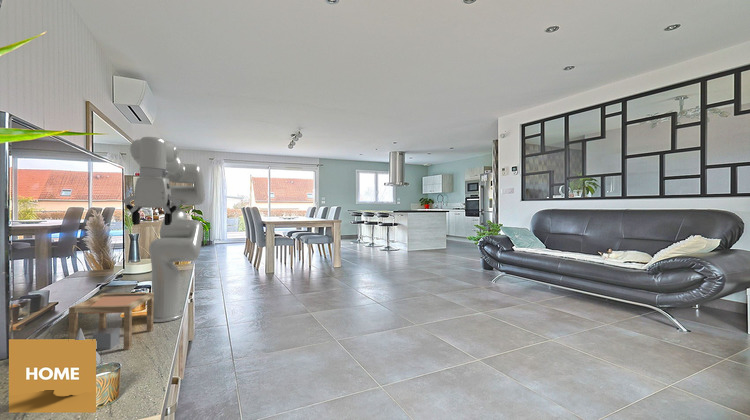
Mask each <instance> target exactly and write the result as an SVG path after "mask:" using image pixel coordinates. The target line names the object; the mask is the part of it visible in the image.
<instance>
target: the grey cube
mask: <svg viewBox="0 0 750 420" xmlns="http://www.w3.org/2000/svg"><path fill="white" fill-rule="evenodd" d="M120 333H121V332H120V327H106V328H102V329H100V330H99V329H98V330H97V331H95V332H94V333H93V334H92V340H93V339H96V341H97V350H98V351H99V350H102V351H103V350H111V349H113V348H114V347H115V346H117V345H118V344H119V343H120V337H121V336H120ZM97 350H96V351H97Z"/></svg>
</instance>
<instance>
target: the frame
mask: <svg viewBox="0 0 750 420" xmlns="http://www.w3.org/2000/svg"><path fill="white" fill-rule="evenodd" d="M104 296H142V297H141V298H139V299H137V300H135V301H134V302H132V303H130V304H128V305H117V306H91V305H93V304H94V303H95V302H97V301H98V300H100V299H101V298H102V297H104ZM144 303H146V332H147V333H149V332H148V331H151V332H153V331H154V322H153V309H154V293H152V292H113V293H107V292H106V293H100V294H98V295H95V296H93V297H91V298H89V299H87V300H86V299H85V301H84V300H83V301H82V302H79V303H77V304H75V305H73V306H70V307H69V308H68V340H69V339H76V337H77V334H78V332H79V326H78V325H79V314H80V313H81V314H83V313H86V312H124V313H123V350H124V351H126V350H131V348H132V343H133V341H132V340H133V338H132V337H133V310H134V309H136V308H138V307H139V306H141V305H143V304H144ZM102 328H107V313H98V331H99V330H100V329H102ZM152 330H153V331H152Z"/></svg>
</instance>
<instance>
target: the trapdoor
mask: <svg viewBox="0 0 750 420" xmlns="http://www.w3.org/2000/svg"><path fill="white" fill-rule="evenodd" d="M141 297H142V296H104V297H102V298H101V299H100V300H98V301H97V302H95V303H94V304H92V305H90V306H117V305H128V304H130V303H132V302H134V301H135V300H137V299H139V298H141ZM99 313H106V314H124V312H86V313H82V314H83V315H86V314H99Z"/></svg>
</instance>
